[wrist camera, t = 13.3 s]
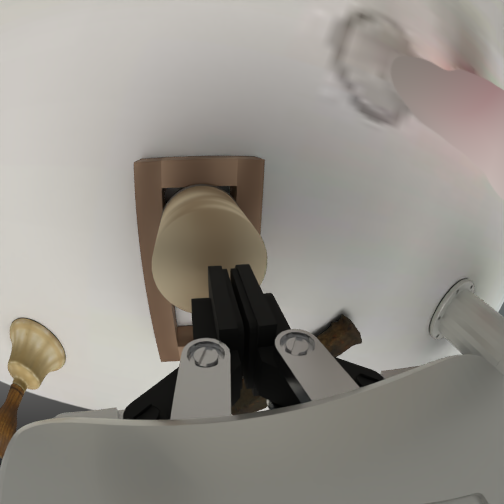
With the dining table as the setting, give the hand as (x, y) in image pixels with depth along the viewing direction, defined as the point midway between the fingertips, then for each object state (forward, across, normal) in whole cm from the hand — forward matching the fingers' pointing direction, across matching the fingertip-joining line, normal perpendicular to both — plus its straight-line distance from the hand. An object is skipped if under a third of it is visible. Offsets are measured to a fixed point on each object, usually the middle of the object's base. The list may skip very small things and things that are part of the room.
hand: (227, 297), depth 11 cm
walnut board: (+12, +1, +4) cm, 13 cm away
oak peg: (+12, +1, 0) cm, 12 cm away
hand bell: (+12, +22, +14) cm, 29 cm away
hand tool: (+13, -9, +19) cm, 25 cm away
